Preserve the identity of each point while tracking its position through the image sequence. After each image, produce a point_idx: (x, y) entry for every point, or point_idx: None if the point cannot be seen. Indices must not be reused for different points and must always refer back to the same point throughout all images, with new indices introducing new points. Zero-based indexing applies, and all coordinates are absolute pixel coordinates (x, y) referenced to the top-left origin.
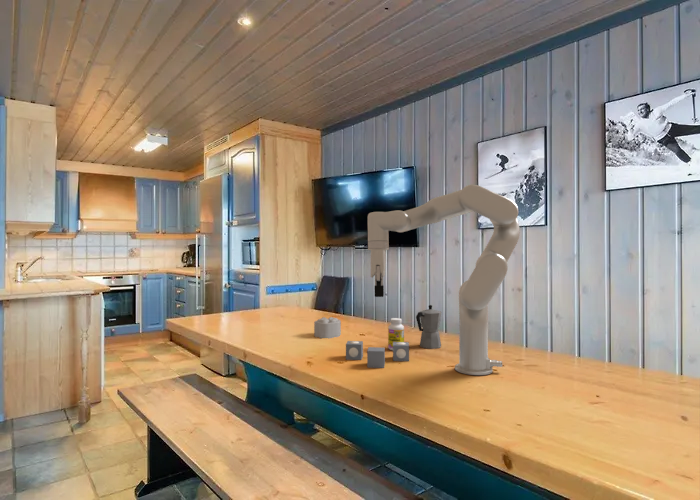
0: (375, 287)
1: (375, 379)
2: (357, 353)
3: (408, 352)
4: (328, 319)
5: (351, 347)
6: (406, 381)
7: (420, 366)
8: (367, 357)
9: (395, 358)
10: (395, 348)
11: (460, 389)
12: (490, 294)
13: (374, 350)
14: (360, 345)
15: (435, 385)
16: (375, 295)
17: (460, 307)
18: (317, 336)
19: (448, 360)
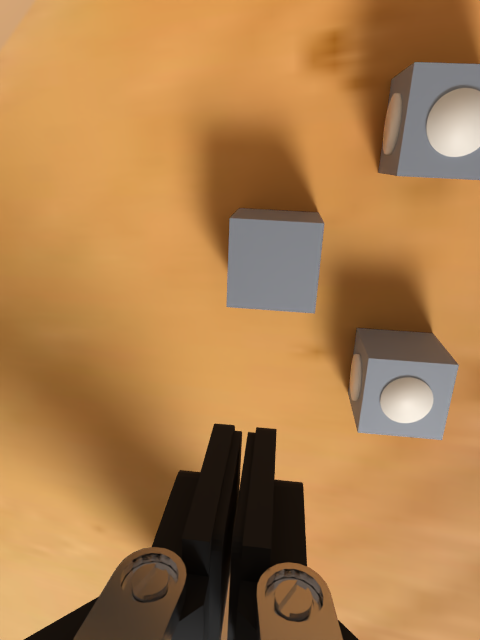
0: (186, 528)
1: (70, 245)
2: (384, 149)
3: (354, 411)
4: None
5: (403, 107)
6: (69, 355)
7: (268, 425)
8: (233, 214)
9: (356, 342)
10: (364, 363)
11: (26, 493)
12: None
13: (244, 257)
14: (395, 169)
15: (46, 437)
16: (211, 438)
17: None
18: None
19: (360, 531)
